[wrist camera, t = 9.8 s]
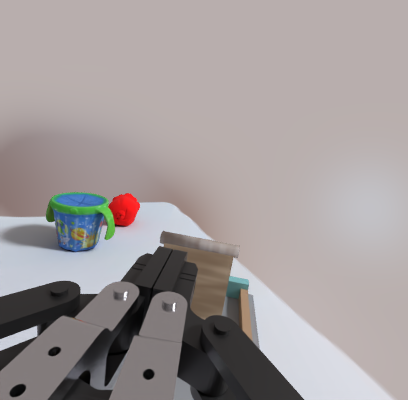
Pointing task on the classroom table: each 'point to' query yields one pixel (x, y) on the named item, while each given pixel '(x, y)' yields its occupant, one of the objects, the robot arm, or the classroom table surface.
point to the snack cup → (80, 219)
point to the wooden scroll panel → (206, 270)
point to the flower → (124, 209)
